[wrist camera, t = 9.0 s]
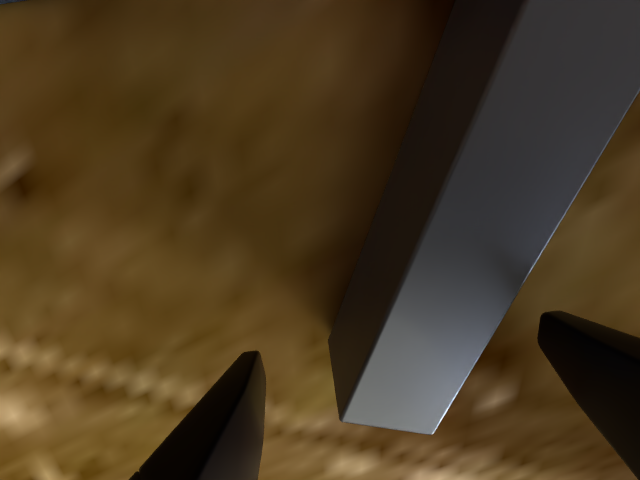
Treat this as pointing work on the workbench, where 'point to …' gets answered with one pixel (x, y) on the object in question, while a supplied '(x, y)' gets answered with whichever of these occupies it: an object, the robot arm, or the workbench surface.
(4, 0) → the mat
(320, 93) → the workbench surface
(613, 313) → the workbench surface
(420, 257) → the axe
